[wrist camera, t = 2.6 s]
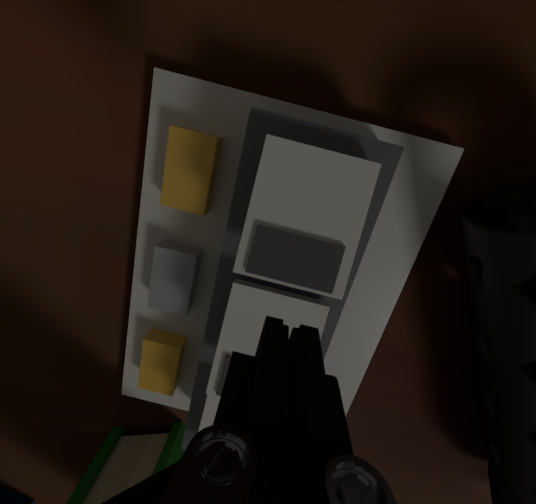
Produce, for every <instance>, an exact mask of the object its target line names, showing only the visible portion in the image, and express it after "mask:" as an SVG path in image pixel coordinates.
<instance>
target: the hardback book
mask: <svg viewBox="0 0 536 504" xmlns="http://www.w3.org/2000/svg"><path fill="white" fill-rule="evenodd" d="M184 432H185V426H184V423H183V421H179V422H174V423H173V425H172V428H171V430H170V432H169V433H162V434H148V435H133V436H127V435H126V433H125V431H124V428H123V426H114V427H113V429H112V430H111V432H110V434H109V435H108V437H107V438H106V440H105V442H104V443H103V445H102V446H101V448H100V450H99V451H98V453H97V454H96V456H95V458H94V459H93V461H92V462H91V464H90V466H89V467H88V469H87V470H86V472H85V474H84V475H83V477H82V478H81V480H80V482H79V483H78V485H77V486H76V488H75V490H74V491H73V493H72V494H71V496H70V498H69V499H68V501H67V502H66V504H101V503H103V502H104V501H106V500H108V499H110V498H112V497H114V496H115V495H117V494H119V493H121V492H123V491H124V490H126V489H128V488H130V487H132V486H134V485H135V484H137V483H139V482H141V481H143V480H144V479H146V478H148V477H150V476H152V475H154V474H155V473H157V472H159V471H161V470H163V469H165V468H166V467H168V466H170V465H172V464H174V463H175V462H177V461H179V460H181V458H182V456H183V454H184V452H185V451H184V450H181V446H182V441H183V437H184Z"/></svg>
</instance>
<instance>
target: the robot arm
mask: <svg viewBox="0 0 536 504" xmlns="http://www.w3.org/2000/svg"><path fill="white" fill-rule="evenodd" d="M262 501H263V504H397V503H396V500H395V498H394V496H393V493H392V491H391V489H390V487H389V485H388V484H387V482H386V480H385V479H384V477H383V476H382V475H381V474H380V473H379V471H378V470H377V469H376V468H374V467H373V466H372V465H371V464H369V463H368V462H367V461H365V460H363V459H361V458H359V457H357V456H353V451H352V446H351V441H350V436H349V431H348V427H347V422H346V417H345V412H344V407H343V402H342V397H341V393H340V388H339V383H338V379H337V378H336V377H335V376H332V375H328V374H325V368H324V361H323V355H322V348H321V342H320V336H319V330H318V328H315V327H311V326H307V325H303V324H301V325H300V326H299V328H296V327H293V329H292V331H291V335H290V338H289V326H288V325H284V324H283V319H279V318H275V317H271V316H267V315H266V318H265V321H264V325H263V328H262V332H261V336H260V339H259V343H258V346H257V350H256V353H255V356H251V355H247V354H243V353H239V352H235V351H233V353H232V356H231V360H230V364H229V367H228V371H227V375H226V378H225V382H224V386H223V389H222V393H221V397H220V400H219V404H218V408H217V411H216V415H215V419H214V422H213V425H211V426H208V427H205V428H203V429H202V430H200V431H199V432H198V433H196V434H195V436H194V437H193V438H192V440H191V441H190V442H189V444H188V446H187V448H186V450H185V452H184V454H183V456H182V458H181V460H179V461H177V462H175V463H174V464H172V465H170V466H168V467H166V468H165V469H163V470H161V471H159V472H157V473H155V474H154V475H152V476H150V477H148V478H146V479H144V480H143V481H141V482H139V483H137V484H135V485H134V486H132V487H130V488H128V489H126V490H124V491H123V492H121V493H119V494H117V495H115V496H114V497H112V498H110V499H108V500H106V501H104V502H103V503H101V504H262Z"/></svg>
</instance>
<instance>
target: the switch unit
mask: <svg viewBox="0 0 536 504" xmlns="http://www.w3.org/2000/svg"><path fill="white" fill-rule="evenodd" d="M267 134H269V135H273V136H276V137H280V138H284V139H288V140H292V141H296V142H299V143H303V144H307V145H311V146H315V147H319V148H322V149H326V150H330V151H334V152H338V153H342V154H345V155H349V156H353V157H357V158H361V159H365V160H368V161H372V162H376V163H380V164H381V168H380V171H379V175H378V178H377V181H376V185H375V188H374V192H373V195H372V199H371V202H370V206H369V209H368V212H367V216H366V219H365V223H364V226H363V230H362V233H361V237H360V240H359V243H358V247H357V250H356V254H355V257H354V261H353V264H352V268H351V271H350V274H349V278H348V281H347V285H346V288H345V292H344V295H343V299H342V300H340V299H336V298H332V297H328V296H324V295H320V294H316V293H313V292H309V291H305V290H301V289H297V288H293V287H289V286H285V285H281V284H277V283H273V282H270V281H266V280H262V279H258V278H254V277H250V276H246V275H242V274H238V273H234V272H233V269H234V265H235V260H236V256H237V252H238V248H239V244H240V240H241V236H242V232H243V228H244V224H245V220H246V216H247V212H248V208H249V204H250V200H251V196H252V192H253V188H254V184H255V180H256V175H257V171H258V167H259V163H260V159H261V155H262V151H263V147H264V143H265V139H266V135H267ZM463 151H464V148H460V147H456V146H452V145H448V144H445V143H441V142H437V141H433V140H429V139H425V138H422V137H418V136H414V135H410V134H406V133H403V132H399V131H395V130H391V129H387V128H384V127H380V126H376V125H372V124H368V123H364V122H361V121H357V120H353V119H349V118H345V117H342V116H338V115H334V114H330V113H326V112H323V111H319V110H315V109H311V108H307V107H304V106H300V105H296V104H292V103H288V102H284V101H281V100H277V99H273V98H269V97H265V96H262V95H258V94H254V93H250V92H246V91H243V90H239V89H235V88H231V87H227V86H223V85H220V84H216V83H212V82H208V81H204V80H201V79H197V78H193V77H189V76H185V75H182V74H178V73H174V72H170V71H166V70H162V69H159V68H155V67H154V72H153V82H152V92H151V102H150V112H149V122H148V132H147V142H146V152H145V162H144V172H143V182H142V192H141V202H140V212H139V222H138V232H137V242H136V252H135V262H134V272H133V282H132V292H131V302H130V312H129V322H128V332H127V342H126V352H125V362H124V372H123V382H122V392H121V394H122V395H126V396H130V397H134V398H138V399H142V400H146V401H150V402H154V403H158V404H162V405H166V406H170V407H174V408H178V409H182V410H186V411H189V412H188V417H187V422H186V427H185V432H184V437H183V441H182V446H181V450H184V451H185V450H186V448H187V446H188V444H189V442H190V441H191V440H192V438H193V437H194V436H195V434H196V433H198V431H199V427H200V423H201V419H202V415H203V411H204V407H205V403H206V399H207V395H208V394H205V393H206V389H207V385H208V381H209V377H210V373H211V369H212V365H213V361H214V357H215V353H216V349H217V345H218V341H219V337H220V333H221V329H222V325H223V321H224V317H225V313H226V309H227V305H228V301H229V297H230V293H231V289H232V285H233V282H234V280H235V279H240V280H244V281H248V282H252V283H256V284H260V285H263V286H267V287H271V288H275V289H279V290H283V291H287V292H291V293H295V294H299V295H303V296H306V297H310V298H314V299H318V300H322V301H326V302H327V303H328V305H329V307H330V309H329V312H328V316H327V319H326V323H325V326H324V330H323V333H322V337H321V340H320V342H321V348H322V355H323V361H324V368H325V374H328V375H332V376H335V377H336V378H337V379H338V383H339V388H340V393H341V397H342V402H343V407H344V412H345V417H346V414H347V412H348V410H349V407H350V405H351V403H352V401H353V398H354V396H355V394H356V392H357V389H358V387H359V385H360V383H361V380H362V378H363V376H364V374H365V371H366V369H367V367H368V365H369V362H370V360H371V358H372V356H373V353H374V351H375V349H376V347H377V344H378V342H379V340H380V338H381V335H382V333H383V331H384V329H385V326H386V324H387V322H388V320H389V317H390V315H391V313H392V311H393V308H394V306H395V304H396V302H397V299H398V297H399V295H400V293H401V290H402V288H403V286H404V284H405V281H406V279H407V277H408V275H409V272H410V270H411V268H412V266H413V263H414V261H415V259H416V257H417V254H418V252H419V250H420V248H421V245H422V243H423V241H424V239H425V236H426V234H427V232H428V230H429V227H430V225H431V223H432V221H433V218H434V216H435V214H436V212H437V209H438V207H439V205H440V203H441V200H442V198H443V196H444V194H445V191H446V189H447V187H448V185H449V182H450V180H451V178H452V176H453V173H454V171H455V169H456V167H457V164H458V162H459V160H460V158H461V155H462V153H463Z"/></svg>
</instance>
